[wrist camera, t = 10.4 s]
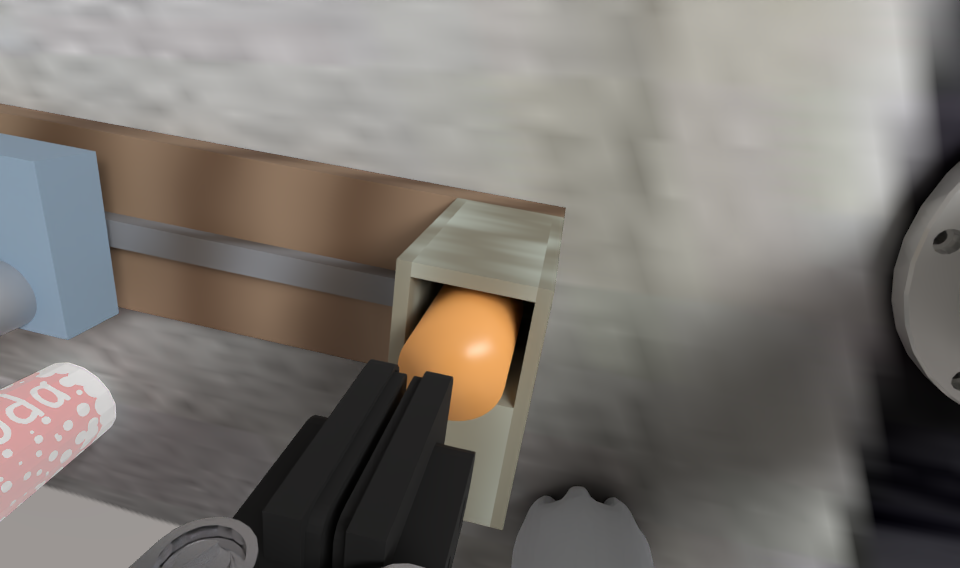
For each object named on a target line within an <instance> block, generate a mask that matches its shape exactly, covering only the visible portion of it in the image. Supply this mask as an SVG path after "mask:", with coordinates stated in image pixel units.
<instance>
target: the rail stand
mask: <svg viewBox="0 0 960 568" xmlns="http://www.w3.org/2000/svg"><path fill="white" fill-rule="evenodd" d="M0 133H2V134H7V135H12V136H18V137H23V138H28V139H33V140H39V141H44V142H49V143H54V144H59V145H65V146H70V147H75V148H80V149H86V150H91V151H96V157H97V164H98V171H99V178H100V185H101V192H102V199H103V206H104V213H105V220H106V227H107V234H108V241H109V248H110V255H111V261H112V268H113V275H114V282H115V289H116V296H117V303H118V307H121V308H126V309H130V310H134V311H139V312H143V313H148V314H152V315H156V316H161V317H165V318H170V319H174V320H179V321H183V322H187V323H192V324H196V325H201V326H205V327H209V328H214V329H218V330H223V331H227V332H232V333H236V334H240V335H245V336H249V337H254V338H258V339H262V340H267V341H271V342H276V343H280V344H284V345H289V346H293V347H298V348H302V349H307V350H311V351H315V352H320V353H324V354H329V355H333V356H337V357H342V358H346V359H351V360H355V361H360V362H364V363H368V361H369V360H370V359H374V360H379V361H383V362H388V363H393V364H397V365H398V359H399V355H400V352H401V350H402V348H403V346H404V344H405V343H406V341H407V340H408V338H409V337H410V335H411V334H412V332H413V331H414V329H415V328H416V326H417V325H418V323H419V322H420V320H421V318H422V317H423V315H424V314H425V312H426V311H427V309H428V308H429V306H430V305H431V303H432V302H433V300H434V299H435V297H436V296H437V294H438V292H439V291H440V289H441V288H442V286H443V285H444V284H448V285H453V286H458V287H463V288H468V289H473V290H478V291H482V292H487V293H492V294H497V295H502V296H507V297H512V298H516V299H521V300H523V316H522V320H521V324H520V328H519V332H518V336H517V340H516V344H515V348H514V352H513V356H512V360H511V364H510V368H509V372H508V376H507V380H506V384H505V388H504V391H503V394H502V396H501V399H500V400H499V402H498V403H497V404H496V406H495V407H494V408H493V409H492V410H490V411H489V412H488V413H486V414H484V415H483V416H480V417H478V418H475V419H472V420H466V421H450V420H448V422H447V429H446V436H445V443H444V445H448V446H452V447H457V448H461V449H465V450H470V451H474V452H476V454H475V461H474V467H473V473H472V479H471V484H470V489H469V494H468V499H467V504H466V509H465V513H464V518H463V520H464V521H468V522H471V523H475V524H479V525H483V526H487V527H491V528H495V529H499V530H503V526H504V522H505V517H506V512H507V508H508V503H509V499H510V494H511V489H512V485H513V480H514V476H515V471H516V466H517V462H518V457H519V452H520V448H521V443H522V439H523V434H524V429H525V425H526V420H527V416H528V411H529V406H530V402H531V397H532V393H533V388H534V383H535V379H536V374H537V370H538V365H539V360H540V356H541V351H542V346H543V342H544V337H545V333H546V328H547V323H548V319H549V314H550V310H551V305H552V300H553V296H554V291H555V284H556V276H557V269H558V261H559V254H560V246H561V239H562V231H563V224H564V216H565V208H563V207H558V206H552V205H547V204H542V203H536V202H531V201H525V200H520V199H515V198H509V197H504V196H498V195H493V194H487V193H482V192H477V191H471V190H466V189H460V188H455V187H449V186H444V185H439V184H433V183H428V182H422V181H417V180H411V179H406V178H401V177H395V176H390V175H384V174H379V173H374V172H368V171H363V170H357V169H352V168H346V167H341V166H336V165H330V164H325V163H319V162H314V161H308V160H303V159H298V158H292V157H287V156H281V155H276V154H270V153H265V152H260V151H254V150H249V149H243V148H238V147H232V146H227V145H222V144H216V143H211V142H205V141H200V140H195V139H189V138H184V137H178V136H173V135H167V134H162V133H157V132H151V131H146V130H140V129H135V128H129V127H124V126H119V125H113V124H108V123H102V122H97V121H91V120H86V119H81V118H75V117H70V116H64V115H59V114H53V113H48V112H43V111H37V110H32V109H26V108H21V107H16V106H10V105H5V104H0Z"/></svg>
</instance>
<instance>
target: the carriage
mask: <svg viewBox="0 0 960 568" xmlns="http://www.w3.org/2000/svg"><path fill="white" fill-rule="evenodd" d="M117 314H119V310H118V303H117V296H116V289H115V282H114V275H113V268H112V261H111V255H110V248H109V241H108V234H107V227H106V220H105V213H104V206H103V199H102V192H101V185H100V178H99V171H98V164H97V157H96V151H91V150H86V149H80V148H75V147H70V146H65V145H59V144H54V143H49V142H44V141H39V140H33V139H28V138H23V137H18V136H12V135H7V134H2V133H0V336H1V335H3V334H5V333H8V332H10V331H12V330H14V329H16V328H20V329H24V330H28V331H32V332H36V333H41V334H45V335H49V336H53V337H58V338H62V339H66V340H69V339H71V338H73V337H75V336H76V335H78V334H80V333H82V332H84V331H86V330H88V329H90V328H92V327H94V326H96V325H98V324H99V323H101V322H103V321H105V320H107V319H109V318H111V317H113V316H115V315H117Z"/></svg>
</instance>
